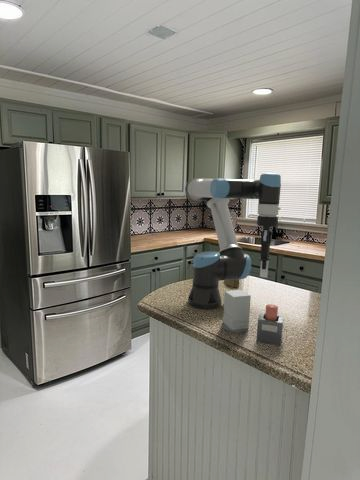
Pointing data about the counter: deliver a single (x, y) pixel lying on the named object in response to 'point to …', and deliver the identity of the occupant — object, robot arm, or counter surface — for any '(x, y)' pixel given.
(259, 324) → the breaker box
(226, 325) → the coaster
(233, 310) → the supplement box
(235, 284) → the rock
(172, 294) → the counter surface
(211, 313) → the counter surface
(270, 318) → the button
